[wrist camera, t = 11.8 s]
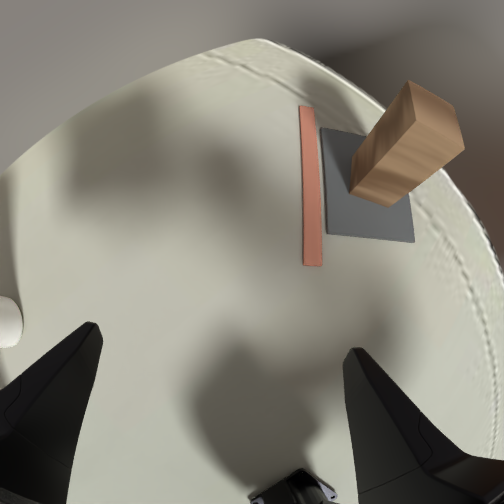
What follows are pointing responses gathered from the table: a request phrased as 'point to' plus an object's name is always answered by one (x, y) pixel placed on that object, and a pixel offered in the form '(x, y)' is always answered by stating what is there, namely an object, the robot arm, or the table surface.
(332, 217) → the mat
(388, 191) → the walnut block
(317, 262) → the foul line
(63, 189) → the table surface
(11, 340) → the drinking glass
